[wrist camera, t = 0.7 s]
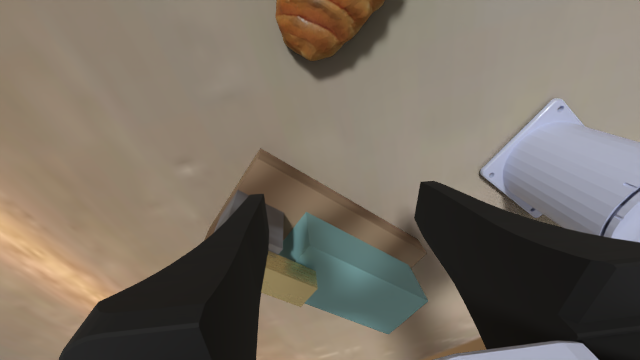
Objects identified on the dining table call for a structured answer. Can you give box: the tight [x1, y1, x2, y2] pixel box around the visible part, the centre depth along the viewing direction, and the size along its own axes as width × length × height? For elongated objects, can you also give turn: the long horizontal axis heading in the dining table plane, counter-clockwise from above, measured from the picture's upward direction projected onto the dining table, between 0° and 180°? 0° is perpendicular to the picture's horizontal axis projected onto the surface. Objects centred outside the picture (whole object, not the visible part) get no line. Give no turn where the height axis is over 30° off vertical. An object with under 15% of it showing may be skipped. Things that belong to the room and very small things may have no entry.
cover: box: [278, 212, 428, 334], centre depth 22 cm, size 12×5×4 cm, turn 54°
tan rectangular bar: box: [261, 251, 318, 307], centre depth 17 cm, size 6×2×2 cm, turn 55°
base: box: [204, 148, 427, 268], centre depth 22 cm, size 18×9×6 cm, turn 55°
